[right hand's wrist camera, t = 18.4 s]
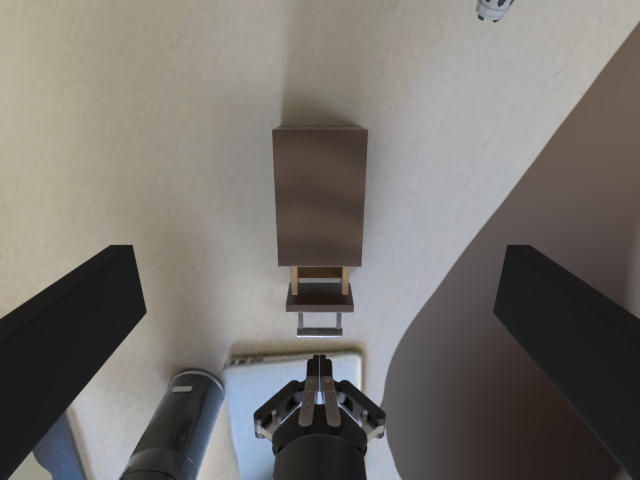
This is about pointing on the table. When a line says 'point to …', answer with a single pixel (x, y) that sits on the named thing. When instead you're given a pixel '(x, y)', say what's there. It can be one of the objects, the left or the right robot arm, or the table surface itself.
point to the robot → (493, 9)
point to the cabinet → (319, 194)
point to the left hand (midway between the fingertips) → (319, 360)
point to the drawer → (319, 297)
